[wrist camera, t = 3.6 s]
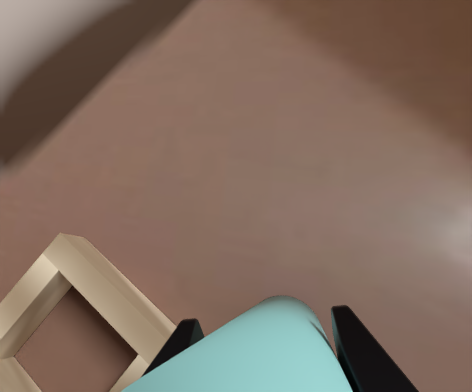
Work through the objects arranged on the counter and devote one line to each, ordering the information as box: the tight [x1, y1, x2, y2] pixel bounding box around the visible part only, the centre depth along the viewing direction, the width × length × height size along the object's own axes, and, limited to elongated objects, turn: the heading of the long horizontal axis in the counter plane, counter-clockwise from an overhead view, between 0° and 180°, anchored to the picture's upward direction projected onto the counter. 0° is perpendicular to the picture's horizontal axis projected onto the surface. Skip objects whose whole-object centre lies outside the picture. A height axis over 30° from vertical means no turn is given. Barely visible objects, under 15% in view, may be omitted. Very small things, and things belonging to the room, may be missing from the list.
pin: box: [121, 296, 353, 392], centre depth 9 cm, size 4×4×13 cm
